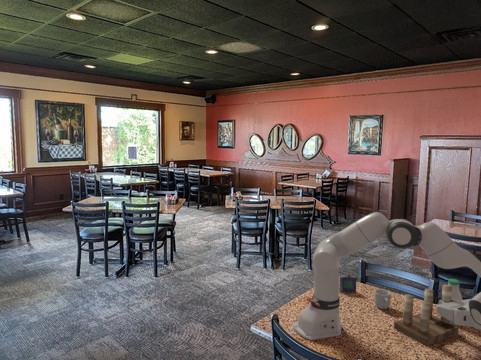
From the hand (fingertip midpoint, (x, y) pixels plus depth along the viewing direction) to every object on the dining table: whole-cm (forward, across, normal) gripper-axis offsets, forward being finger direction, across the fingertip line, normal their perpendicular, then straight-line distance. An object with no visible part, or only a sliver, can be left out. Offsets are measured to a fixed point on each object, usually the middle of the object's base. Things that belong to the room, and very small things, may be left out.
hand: (444, 300), depth 154 cm
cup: (+26, +11, +14) cm, 31 cm away
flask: (+49, +16, +14) cm, 54 cm away
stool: (+2, +8, +14) cm, 16 cm away
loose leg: (-1, 0, +9) cm, 9 cm away
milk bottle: (+5, -11, +14) cm, 19 cm away
